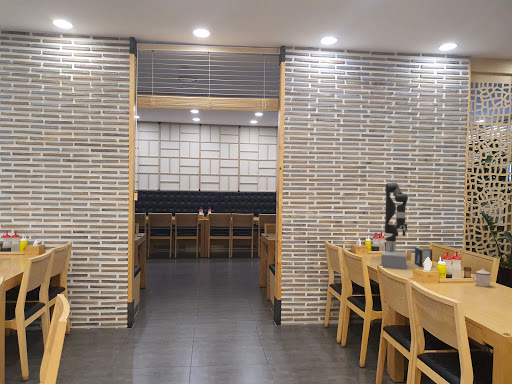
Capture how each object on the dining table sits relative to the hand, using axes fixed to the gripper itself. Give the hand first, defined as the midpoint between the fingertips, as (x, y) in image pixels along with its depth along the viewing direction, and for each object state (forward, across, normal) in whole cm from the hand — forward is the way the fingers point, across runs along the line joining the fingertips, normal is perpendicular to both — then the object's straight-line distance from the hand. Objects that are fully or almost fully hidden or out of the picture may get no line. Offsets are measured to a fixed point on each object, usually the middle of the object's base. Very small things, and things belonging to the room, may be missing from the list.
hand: (400, 236), depth 343 cm
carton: (+27, +2, -4) cm, 27 cm away
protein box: (+27, -27, +3) cm, 38 cm away
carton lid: (+21, +1, -3) cm, 21 cm away
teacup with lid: (+27, -2, +70) cm, 75 cm away
